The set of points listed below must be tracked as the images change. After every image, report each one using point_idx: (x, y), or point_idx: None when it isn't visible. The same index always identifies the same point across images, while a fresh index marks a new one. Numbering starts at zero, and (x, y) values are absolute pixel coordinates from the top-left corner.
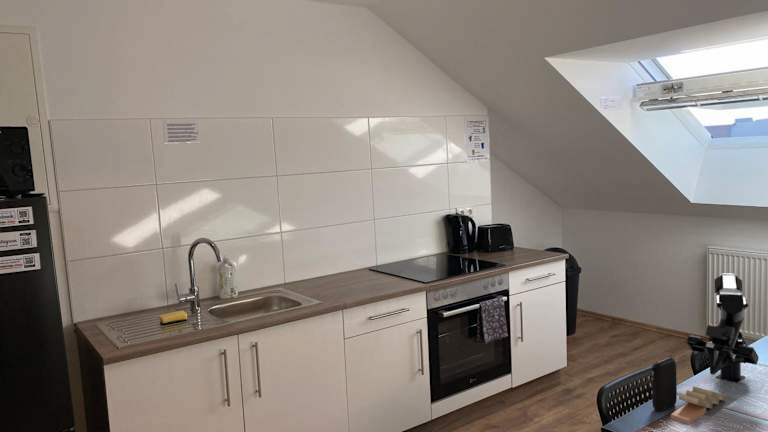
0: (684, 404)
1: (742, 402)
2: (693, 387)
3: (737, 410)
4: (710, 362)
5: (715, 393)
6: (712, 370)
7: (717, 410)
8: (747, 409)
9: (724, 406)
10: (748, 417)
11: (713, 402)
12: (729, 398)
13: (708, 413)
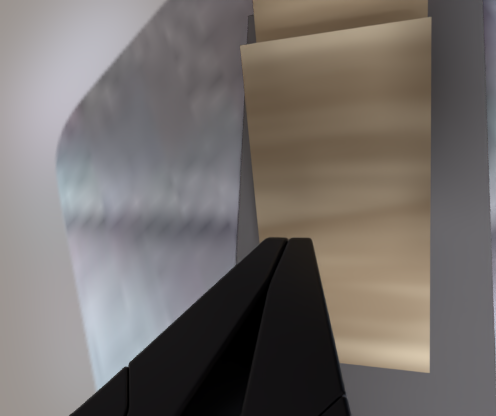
0: (476, 50)
1: None
2: (427, 21)
3: (180, 242)
4: (318, 371)
5: (253, 148)
6: (271, 256)
7: None
8: (144, 299)
9: (246, 225)
10: (111, 187)
11: None
12: None
13: None
